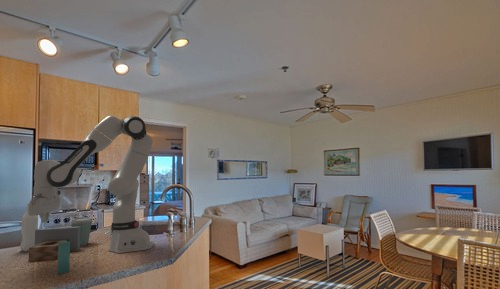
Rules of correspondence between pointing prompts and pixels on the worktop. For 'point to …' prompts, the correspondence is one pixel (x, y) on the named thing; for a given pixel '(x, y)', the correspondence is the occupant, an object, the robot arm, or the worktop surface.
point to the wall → (60, 236)
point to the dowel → (63, 257)
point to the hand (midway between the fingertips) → (44, 222)
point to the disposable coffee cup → (83, 228)
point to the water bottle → (28, 230)
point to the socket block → (45, 250)
